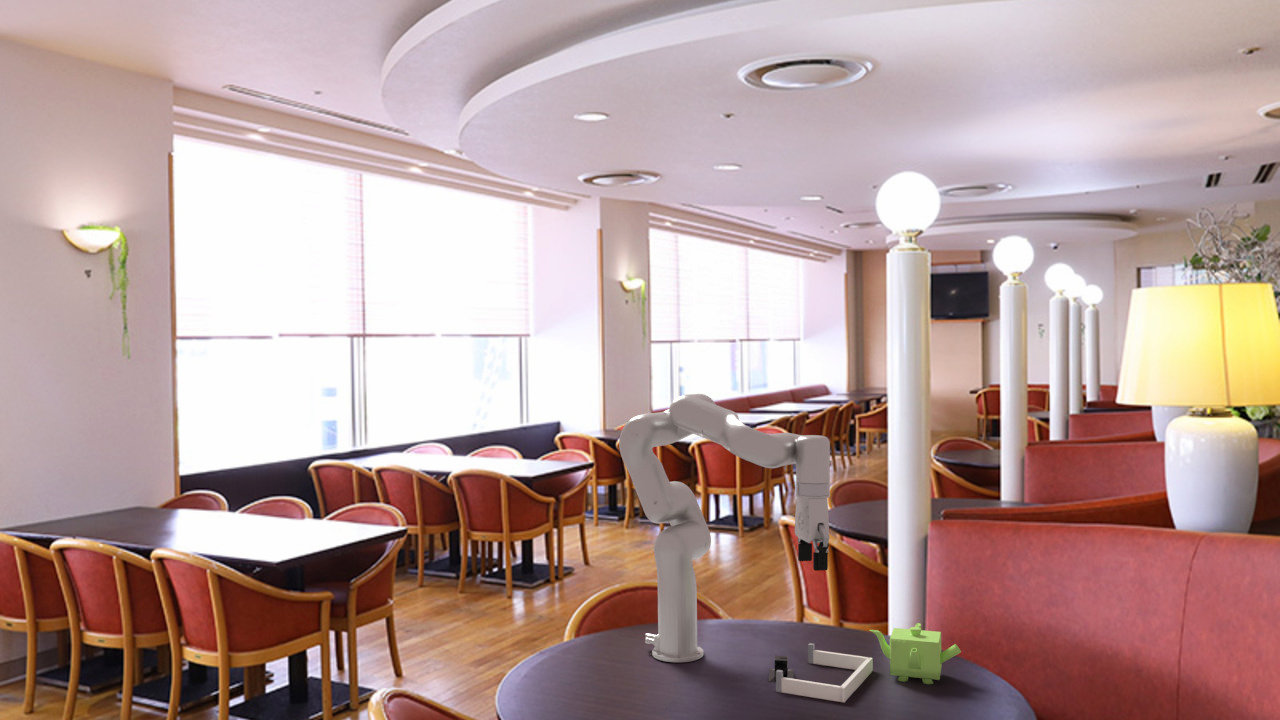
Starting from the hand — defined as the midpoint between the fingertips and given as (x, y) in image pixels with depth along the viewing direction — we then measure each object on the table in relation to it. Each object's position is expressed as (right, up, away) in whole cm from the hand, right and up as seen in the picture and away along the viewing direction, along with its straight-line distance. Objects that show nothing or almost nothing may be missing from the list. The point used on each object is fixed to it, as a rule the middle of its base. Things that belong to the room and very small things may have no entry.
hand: (812, 565), depth 217 cm
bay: (+3, -25, -2) cm, 26 cm away
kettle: (+23, -26, 0) cm, 35 cm away
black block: (-7, -26, +2) cm, 27 cm away
